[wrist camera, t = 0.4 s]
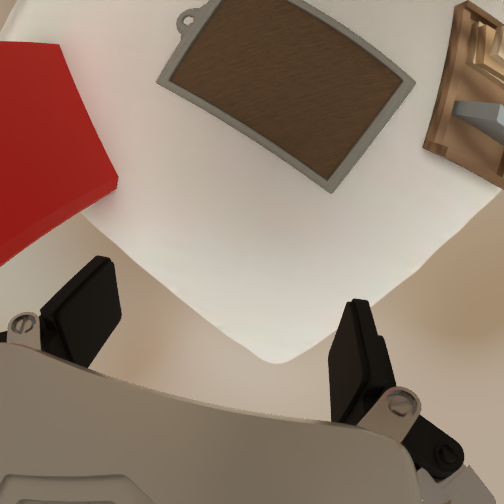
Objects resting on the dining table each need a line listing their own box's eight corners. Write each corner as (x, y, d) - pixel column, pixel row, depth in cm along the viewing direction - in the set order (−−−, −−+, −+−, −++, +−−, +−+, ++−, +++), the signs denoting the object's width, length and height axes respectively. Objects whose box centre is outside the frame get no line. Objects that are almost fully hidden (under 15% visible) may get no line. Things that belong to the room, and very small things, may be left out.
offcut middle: (478, 27, 22) (486, 24, 20) (519, 54, 22) (528, 53, 20) (474, 64, 25) (483, 63, 23) (516, 90, 25) (525, 90, 23)
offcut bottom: (471, 23, 24) (479, 21, 22) (516, 56, 23) (525, 55, 22) (465, 64, 27) (473, 62, 25) (510, 94, 27) (519, 95, 25)
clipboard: (331, 195, 38) (139, 74, 34) (330, 191, 40) (145, 75, 35) (417, 82, 30) (217, -39, 25) (413, 83, 31) (220, -34, 27)
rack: (454, 6, 24) (478, -6, 18) (524, 54, 24) (551, 53, 17) (422, 147, 34) (445, 156, 28) (493, 184, 34) (519, 198, 28)
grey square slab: (453, 100, 30) (500, 103, 20) (504, 132, 30) (552, 146, 20) (450, 113, 31) (496, 121, 21) (501, 144, 30) (549, 161, 21)
